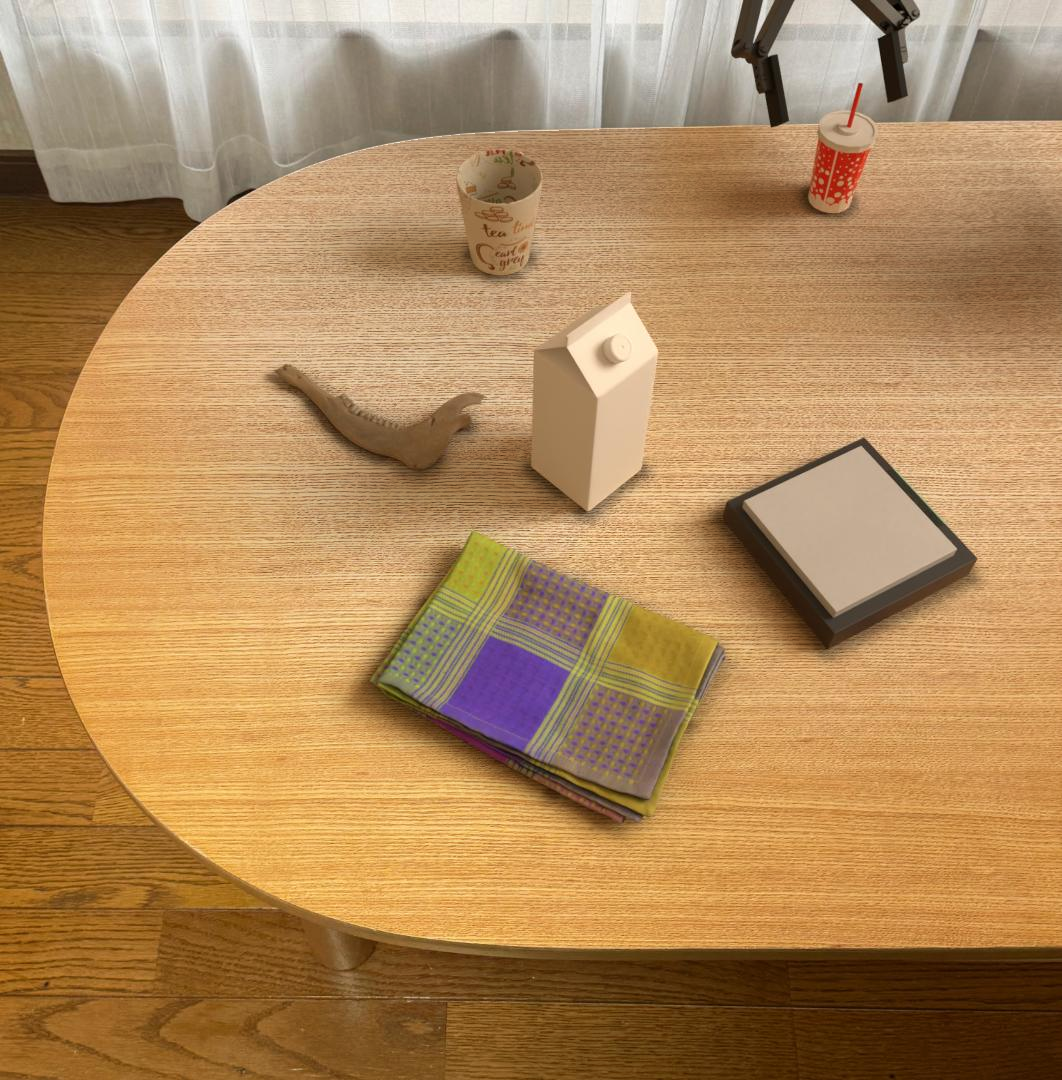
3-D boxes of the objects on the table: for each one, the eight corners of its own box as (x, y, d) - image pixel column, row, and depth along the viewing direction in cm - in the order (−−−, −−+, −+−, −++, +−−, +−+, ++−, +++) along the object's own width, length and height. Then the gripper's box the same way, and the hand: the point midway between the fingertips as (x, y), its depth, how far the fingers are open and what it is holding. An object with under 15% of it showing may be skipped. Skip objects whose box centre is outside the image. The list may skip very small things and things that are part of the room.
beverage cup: (866, 193, 128) (900, 78, 116) (845, 225, 125) (878, 110, 113) (814, 174, 130) (843, 59, 118) (792, 205, 127) (819, 90, 115)
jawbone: (463, 484, 105) (461, 471, 103) (246, 446, 107) (241, 433, 105) (487, 404, 109) (485, 391, 107) (278, 370, 112) (274, 356, 110)
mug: (450, 276, 119) (445, 196, 111) (482, 198, 127) (480, 118, 118) (529, 290, 118) (530, 210, 110) (557, 211, 126) (560, 131, 117)
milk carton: (530, 468, 105) (533, 312, 90) (585, 426, 108) (597, 268, 93) (587, 514, 102) (601, 361, 87) (642, 469, 105) (664, 314, 90)
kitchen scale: (858, 454, 107) (867, 429, 104) (969, 574, 99) (983, 551, 96) (721, 518, 102) (727, 494, 99) (827, 649, 95) (837, 627, 92)
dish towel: (477, 535, 101) (476, 516, 99) (737, 657, 94) (743, 640, 92) (363, 693, 92) (359, 676, 90) (641, 840, 85) (645, 826, 83)
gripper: (893, -112, 123) (925, 97, 127) (674, -75, 118) (714, 141, 122) (934, -142, 115) (966, 81, 120) (702, -103, 110) (744, 127, 115)
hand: (839, 112), depth 121 cm, fingers open, 13 cm apart
